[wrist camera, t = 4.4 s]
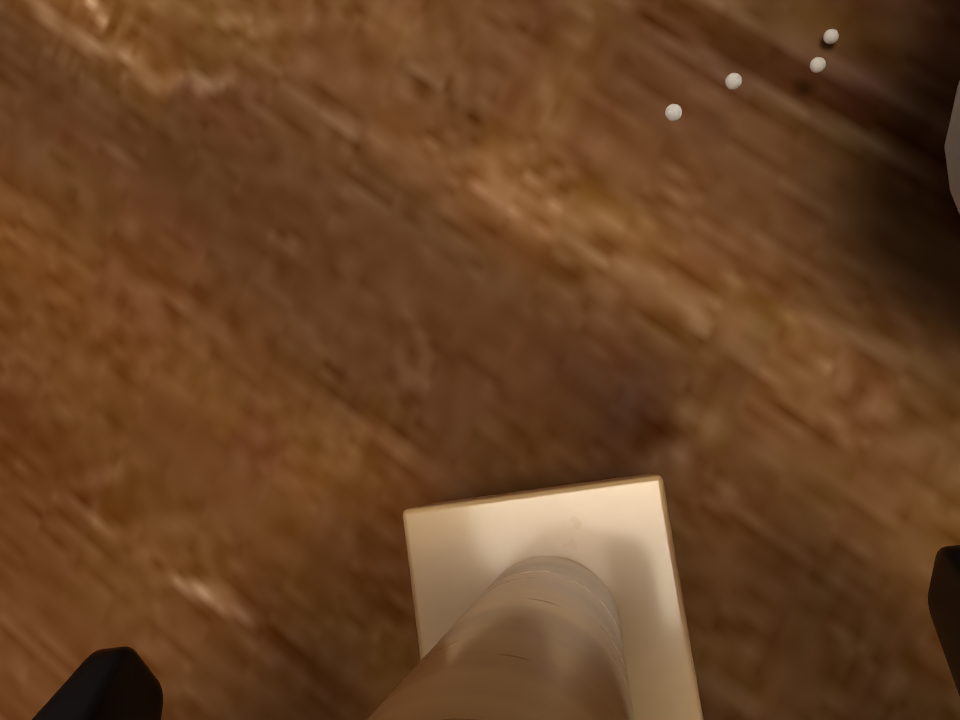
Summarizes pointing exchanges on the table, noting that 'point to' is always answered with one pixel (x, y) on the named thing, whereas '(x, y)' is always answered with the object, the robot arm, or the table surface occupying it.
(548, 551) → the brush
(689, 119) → the table surface
